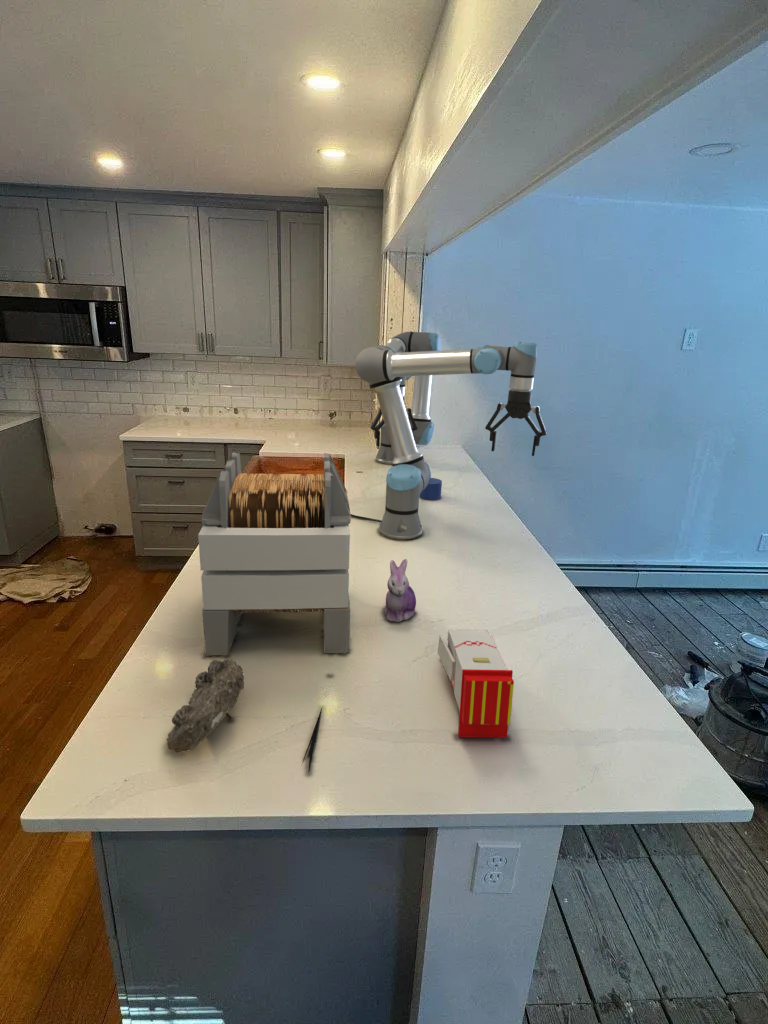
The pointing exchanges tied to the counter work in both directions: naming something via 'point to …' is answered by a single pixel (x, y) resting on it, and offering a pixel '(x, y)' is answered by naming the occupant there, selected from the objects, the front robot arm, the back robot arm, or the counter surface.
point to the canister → (432, 490)
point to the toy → (478, 682)
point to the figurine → (399, 594)
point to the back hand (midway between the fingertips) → (393, 446)
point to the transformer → (275, 551)
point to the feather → (313, 740)
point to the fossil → (206, 705)
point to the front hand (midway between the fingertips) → (512, 452)
